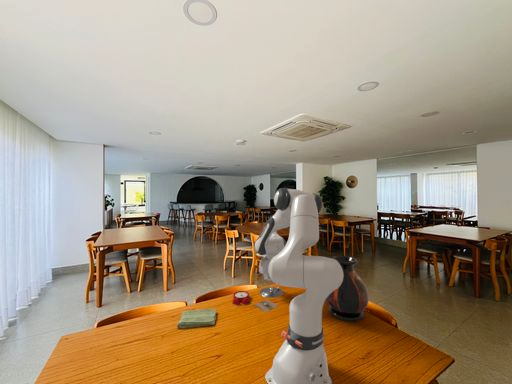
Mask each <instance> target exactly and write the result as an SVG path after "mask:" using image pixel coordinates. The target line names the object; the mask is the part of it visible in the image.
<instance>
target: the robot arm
mask: <svg viewBox="0 0 512 384" xmlns="http://www.w3.org/2000/svg"><path fill="white" fill-rule="evenodd" d="M322 200H323V199H322V198H321V196H320V195H319V194H317V193H311V192H309V191H308V192H307V191H304V190H301V189H293V188H287V187H280V188H279V189H277V190H276V192H275V194H274V196H273V203H274V207H275V208H276V209H277V210H276V211H275V213H274V214H273V215H272V216H271V217H270V218H268V220H267V221H266V223H265V224H264V226H263V229H262V231H261V233H259V236H258V237H257V238H256V239H255V242H254V251H255V252H256V253H257V254H258V255H260V256H263V257H261V259H260V260H259V266H258V272H259V274H261V275H263V276H264V275H265V279H269V276H270V278H271V280H272V281H271V282H272V283H273V284H276V285H279V286H283V287H289V288H298V289H305V290H306V291H305V292H303V293H301V294H298V295H297V296H294V297H293V299H292V300H290V303H289V307H288V311H289V324H288V327H287V331H285V330H282V331H281V334H280V337H282V338H283V339H284V342H283V343H282V344H281V347H280V348H279V350H278V352H277V353H276V355H275V356H274V357H273V361H272V366H271V368H270V369H269V370H268V371H267V372H266V373H265V375H264V379H266V380H265V382H266V381H267V383H268V384H325V383H326V384H333V381H332V379H331V377H330V375H329V374H330V373H329V366H328V357H327V353H326V349H325V347H324V338H325V337H324V336H325V334H324V329H323V326H322V324H323V321H322V320H323V309H324V305H325V302H326V301H325V300H326V299H327V297H328V296H329V295H330V294H331V293H332V292H333V291H334V290H336V289H338V288H339V287H340V285H341V284H342V281H343V270H342V267H341V265H340V264H339V263H338V261H337V260H335V259H331V258H332V257H331V258H330V257H327V256H319V255H305V254H303V253H304V252H305V250H306V249H308V248H311V247H313V246H315V245H316V244H317V243H318V242H319V240H320V224H319V222H320V221H319V214H320V212H321V210H322V207H323V201H322ZM286 228H289V235H288V239H287V241H286V239H284V237H282V236H280V235H279V234H278V233H277V232H278V231H279V230H283V229H286ZM268 272H269V276H268ZM265 279H264V280H265ZM269 381H271V382H269ZM267 383H266V384H267Z"/></svg>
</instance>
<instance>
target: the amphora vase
mask: <svg viewBox="0 0 512 384" xmlns="http://www.w3.org/2000/svg"><path fill="white" fill-rule="evenodd" d="M331 259H335V260H337V261H338V263H339V264H340V265H341V267H342V270H343V281H342V284H341V285H340V287H339V288H338V289H336V290H334V291H333V292H332V293H331V294H330V295H329V296H328V297H327V299H326V300H325V302H326V304H327V305H328V312H329V313H330V315H331V316H333V318H335V319H338V320H340V321H344V322H347V323H349V322H350V323H354V322H359V321H361V320H362V319H363V318H364V311H365V310H366V308H367V307H368V304H369V300H370V299H369V292H368V287H367V285H366V284H365V281H364V280H363V279H362V278H361V277H360V275H358V274H357V272H356V270H355V269H354V266H355V265H357V264H358V263H359V261H358V260H357V259H356V258H354V257H351V256H346V255H345V256H344V255H343V256H342V255H337V256H336V255H335V256H333V257H331Z"/></svg>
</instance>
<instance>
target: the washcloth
mask: <svg viewBox="0 0 512 384" xmlns="http://www.w3.org/2000/svg"><path fill="white" fill-rule="evenodd" d="M216 314H217V309H215V308H204V309H203V308H202V309H189V310H185V311H182V313H181V315H180V319H179V321H178V322H177V324H176V325H177V329H190V328H197V327H207V326H214V325H215V323H216V318H217V315H216Z"/></svg>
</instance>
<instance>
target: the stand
mask: <svg viewBox="0 0 512 384" xmlns="http://www.w3.org/2000/svg"><path fill="white" fill-rule="evenodd" d="M253 306H254V307H255V308H257V309H259V310H261V311H262V312H264V313H267V312H269V311H271V310H273V309H275V308H277V307H279V305H278V304H276V303H274V302H272V301H270V300H268V299H264V300H262V301H260V302H257V303H255V304H253Z"/></svg>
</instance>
